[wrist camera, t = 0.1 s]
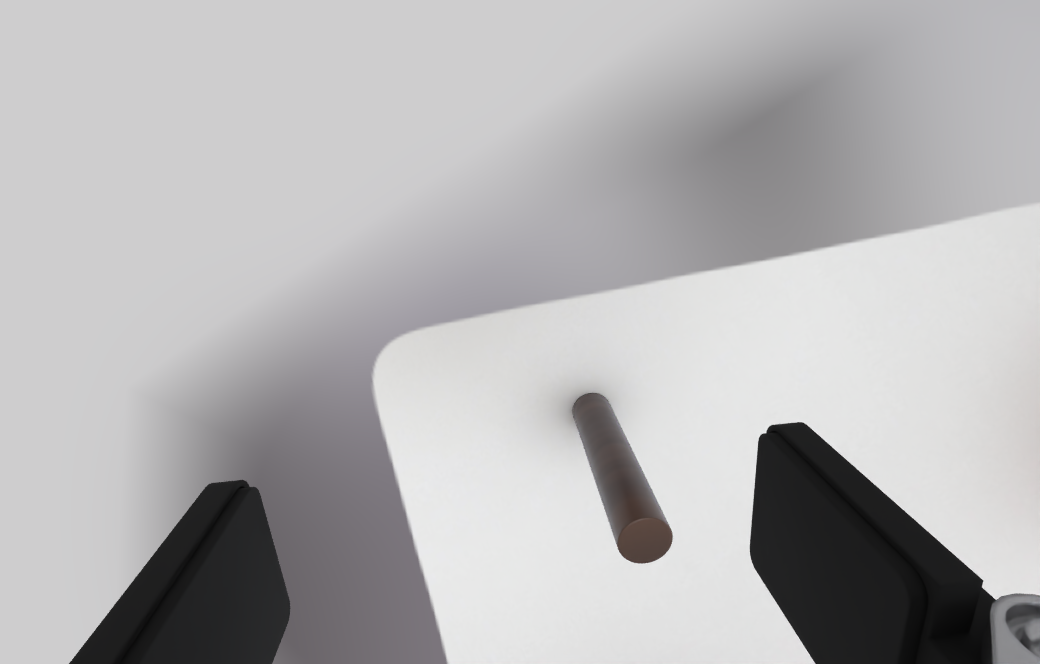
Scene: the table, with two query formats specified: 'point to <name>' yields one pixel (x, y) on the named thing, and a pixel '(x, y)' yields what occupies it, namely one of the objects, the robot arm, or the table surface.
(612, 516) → the stick
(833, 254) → the table surface
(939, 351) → the table surface
